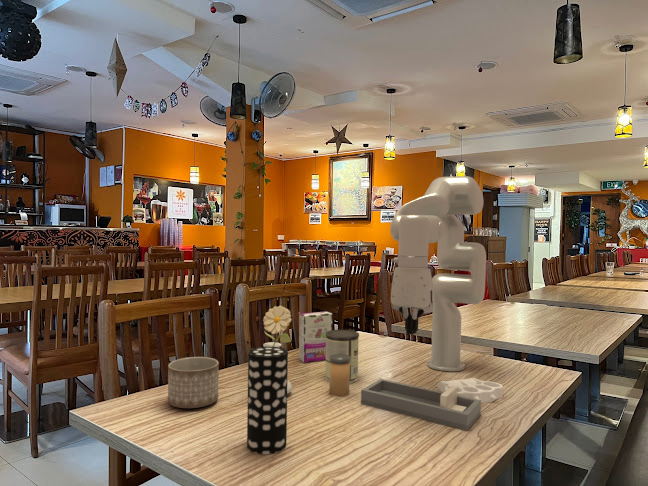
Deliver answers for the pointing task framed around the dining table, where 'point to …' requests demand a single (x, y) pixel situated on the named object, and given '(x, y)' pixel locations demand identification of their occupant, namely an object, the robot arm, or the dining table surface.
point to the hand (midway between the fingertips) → (411, 333)
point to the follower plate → (451, 400)
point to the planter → (193, 382)
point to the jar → (339, 374)
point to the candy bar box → (313, 335)
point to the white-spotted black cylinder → (267, 399)
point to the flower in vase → (278, 328)
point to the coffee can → (342, 350)
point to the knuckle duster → (474, 389)
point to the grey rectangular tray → (420, 403)
